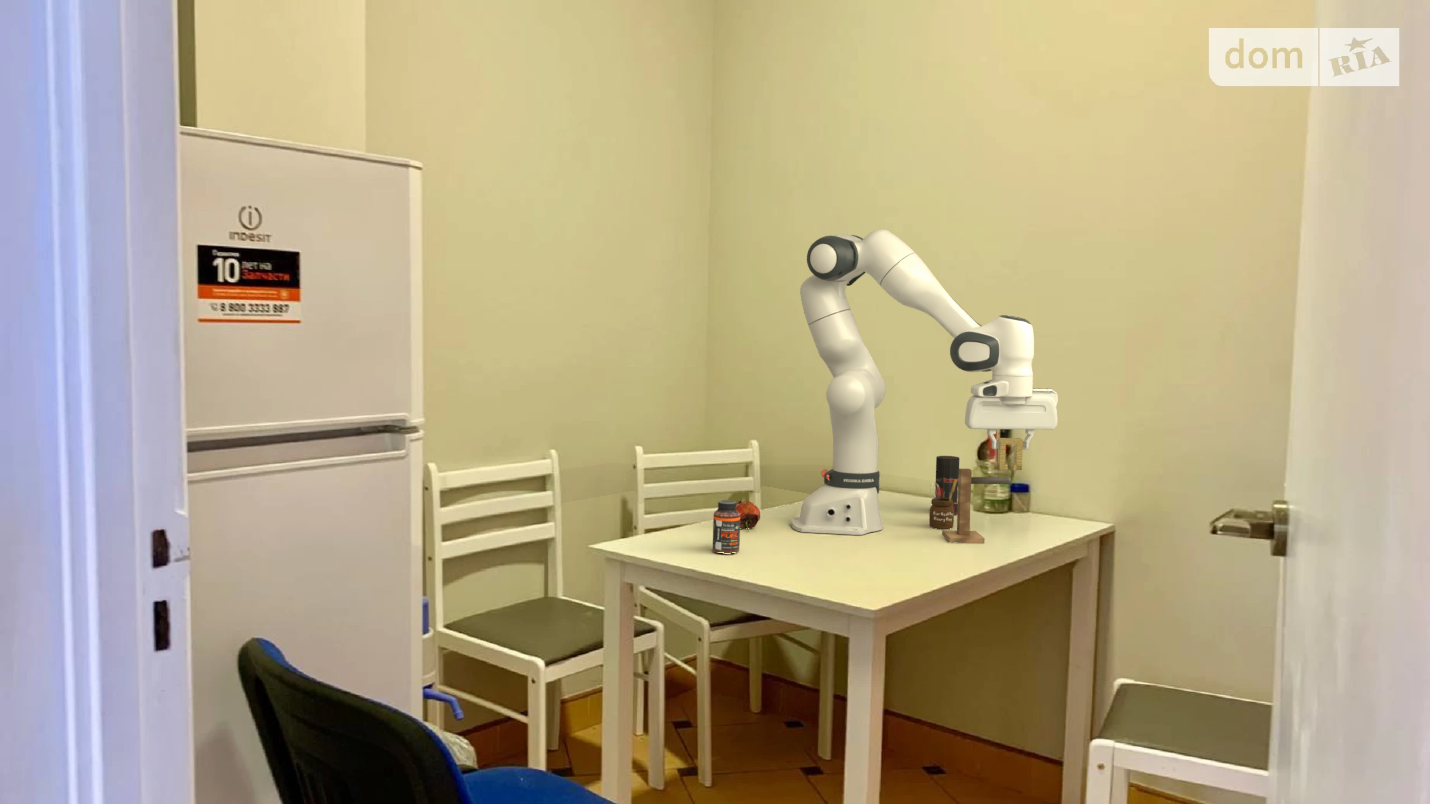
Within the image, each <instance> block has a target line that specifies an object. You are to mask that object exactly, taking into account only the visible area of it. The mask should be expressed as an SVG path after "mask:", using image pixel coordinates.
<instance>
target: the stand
mask: <svg viewBox="0 0 1430 804" xmlns="http://www.w3.org/2000/svg"><path fill="white" fill-rule="evenodd" d="M972 472H973V470H972V469H971V468H959V482H958V510H957V515H956V516H957V517H956V518H957V519H956V530H955V529H954V530H953V529H952V530H951V529H941V530H942V531H941V536H942V535H943V536H944V537H945V538H946V539H947V540H948V541H949V542H961V543H960V544H985V537H983V536H982V534H980V533H979V532H978V531H977V530H971V529H970V528H971V501H972V500H971V499H972V498H971V497H972V495H971V494H972V485H1011V484H1012V478H1011V477H1005V476H1004V477H1002V476H1001V477H1000V476H995V477H994V476H991V477H990V476H972V475H973V474H972ZM943 536H942V537H943ZM944 537H943V538H944ZM945 538H944V539H945ZM946 539H945V540H946ZM947 540H946V541H947ZM948 541H947V542H948ZM949 542H948V543H949Z"/></svg>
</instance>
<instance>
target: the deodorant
mask: <svg viewBox="0 0 1430 804" xmlns="http://www.w3.org/2000/svg"><path fill="white" fill-rule="evenodd" d="M935 459H936V460H935V463H936V464H935V483H937V485H936V484H935V483H934V485H935V486H934V491H935V492H934V498H949V499H950V495H951V489H952V486H953V483H954V480H955V479H956V480H957V482H956V485H955V489H954V492H953V494H952V497H951V499H952V500H953V505H952V507H953V509H954V515H955V516H957V510H958V482H959V469H960V457H959V456H953V455H938V456H936V458H935ZM937 487H938V488H937ZM939 487H940V488H939ZM939 491H940V493H939ZM936 492H937V493H936ZM939 495H940V497H939ZM935 496H936V497H935Z"/></svg>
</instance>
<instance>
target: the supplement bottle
mask: <svg viewBox="0 0 1430 804" xmlns="http://www.w3.org/2000/svg"><path fill="white" fill-rule="evenodd" d="M736 504H737V502H736V500H730V499H725V500H724V499H722V500H718V502H717V510H715V511H714V513H713V522H712V551H713V552H714V551H715V552H724V553H732V552H738V553H739V551H740V543H741V538H740V537H741V534H740V533H741V529H740V513H739V512H738V511H737V510H736ZM715 552H714V553H715Z"/></svg>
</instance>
